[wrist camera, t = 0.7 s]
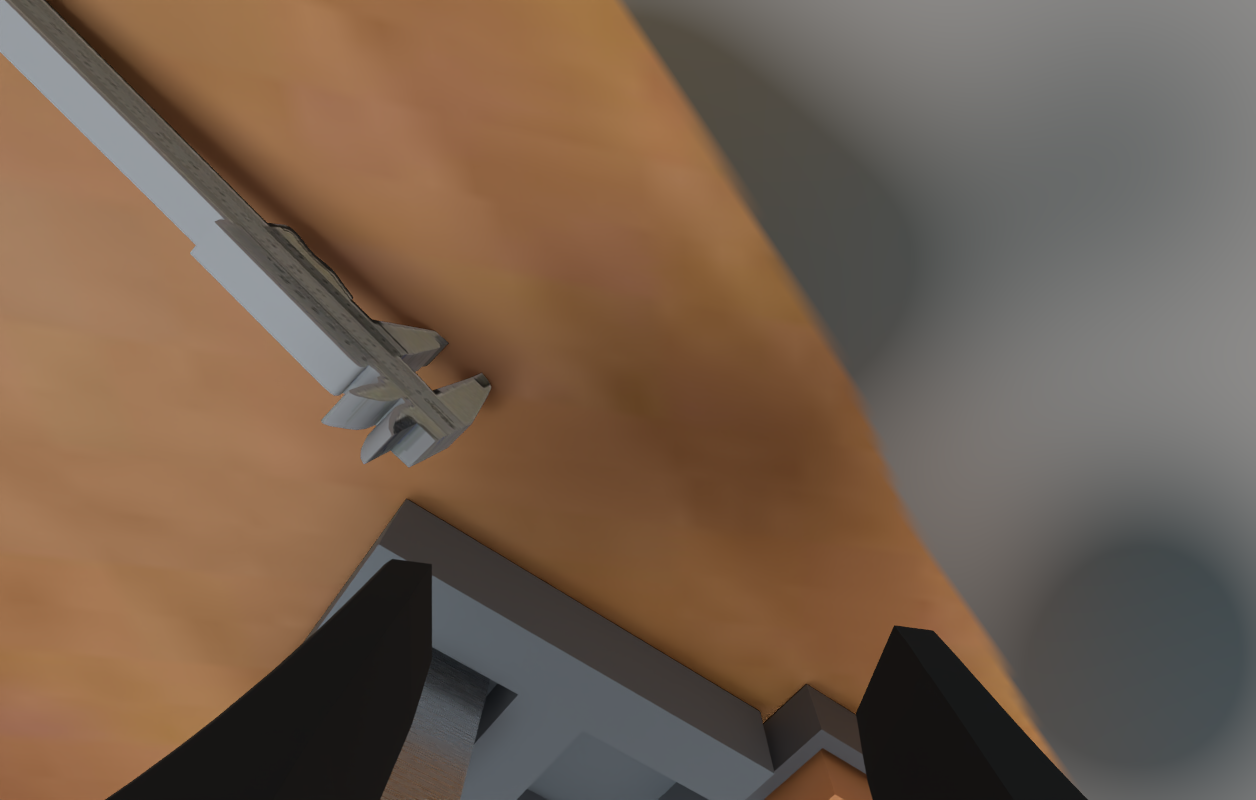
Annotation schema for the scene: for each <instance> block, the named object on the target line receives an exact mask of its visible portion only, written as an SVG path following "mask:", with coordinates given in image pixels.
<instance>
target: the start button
mask: <svg viewBox="0 0 1256 800" xmlns="http://www.w3.org/2000/svg"><path fill="white" fill-rule="evenodd" d="M764 800H873V799H872V796H871V792H870V789H869V785H868V781H867V775H866V774H865V773H863V772H862V771H860V770H858V769H857V768H855V767H853V766H852V765H850V764H848V763H847V762H845V761H843V760H842V759H840V758H838V757H837V756H835V755H833V754H832V753H830V752H828V751H827V750H825V749H823V748H822V749H821V750H820V751H819V752H817V753H816V754H815V755H814V756H813V757H812V758H811V759H809V760H808V761H807V762H806V763H805V764H804V765H803V766H801V767H800V768H799V769H798V770H797V771H796V772H795V773H794V774H792V775H791V776H790V777H789V778H788V779H787V780H786V781H784V782H783V783H782V784H781V785H780V786H779V787H778V788H776V789H775V790H774V791H773V792H772V793H771V794H770V795H768V796H767V797H766V798H765V799H764Z"/></svg>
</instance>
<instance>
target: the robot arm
mask: <svg viewBox="0 0 1256 800" xmlns="http://www.w3.org/2000/svg"><path fill="white" fill-rule="evenodd" d="M431 661H432V564H428V563H420V562H413V561H405V560H398V559H391V560H390V561H388V562H387V563H385V564H384V565H383V566H382V567H381V568H380V569H379V570H378V571H377V572H376V573H375V574H374V575H373V576H372V577H371V578H370V579H369V580H368V581H367V582H366V583H365V584H364V585H363V587H362V588H361V589H360V590H358V591H357V592H356V593H355V594H354V595H353V596H352V597H351V598H350V599H349V600H348V601H347V602H346V603H345V604H344V605H343V606H342V607H341V608H340V609H339V610H338V611H337V612H336V613H335V614H334V615H333V616H332V617H331V618H330V619H329V620H328V621H327V622H326V623H324V624H323V625H322V626H321V627H320V628H319V629H318V630H317V631H316V632H315V633H314V634H313V635H311V636H310V637H309V638H308V639H307V640H306V641H305V642H304V643H303V644H302V645H300V646H299V647H298V648H297V649H296V650H295V651H294V652H293V653H292V654H291V655H290V656H288V657H287V658H286V659H285V660H284V661H283V662H282V663H281V664H280V665H278V666H277V667H276V668H275V669H274V670H273V671H272V672H270V673H269V674H268V675H267V676H266V677H264V678H263V679H262V680H261V681H260V682H259V683H257V684H256V685H255V686H254V687H253V688H251V689H250V690H249V691H248V692H247V693H245V694H244V695H243V696H242V697H241V698H239V699H238V700H237V701H236V702H235V703H233V704H232V705H231V706H230V707H229V708H227V709H226V710H225V711H224V712H223V713H221V714H220V715H219V716H218V717H216V718H215V719H214V720H213V721H211V722H210V723H209V724H208V725H206V726H205V727H204V728H203V729H201V730H200V731H199V732H197V733H196V734H195V735H194V736H192V737H191V738H190V739H188V740H187V741H186V742H184V743H183V744H182V745H181V746H179V747H178V748H177V749H175V750H174V751H173V752H171V753H170V754H169V755H167V756H166V757H164V758H163V759H162V760H160V761H159V762H158V763H156V764H155V765H154V766H152V767H151V768H149V769H148V770H147V771H145V772H144V773H143V774H141V775H140V776H139V777H137V778H136V779H134V780H133V781H132V782H130V783H129V784H127V785H126V786H124V787H123V788H121V789H120V790H119V791H117V792H116V793H114V794H113V795H111V796H110V797H108V798H107V799H105V800H380V799H381V796H382V794H383V792H384V789H385V787H386V785H387V782H388V780H389V778H390V775H391V773H392V771H393V768H394V766H395V764H396V761H397V759H398V756H399V754H400V752H401V749H402V747H403V745H404V742H405V740H406V737H407V735H408V733H409V730H410V728H411V725H412V723H413V719H414V716H415V713H416V710H417V707H418V704H419V700H420V697H421V694H422V691H423V687H424V684H425V681H426V677H427V674H428V671H429V667H430V664H431ZM856 717H857V723H858V729H859V736H860V742H861V748H862V754H863V759H864V765H865V770H866V775H867V781H868V785H869V789H870V792H871V796H872V799H873V800H1088V799H1087V798H1086V797H1085V796H1084V795H1083V794H1082V793H1081V792H1080V791H1079V790H1078V789H1077V788H1076V787H1075V786H1074V785H1073V784H1072V783H1071V782H1070V781H1069V780H1068V779H1067V778H1066V777H1065V776H1064V774H1063V773H1062V772H1061V771H1060V770H1059V769H1058V768H1057V767H1056V766H1055V765H1054V764H1053V763H1052V762H1051V761H1050V760H1049V759H1048V757H1047V756H1046V755H1045V754H1044V753H1043V752H1042V751H1041V750H1040V749H1039V748H1038V747H1037V746H1036V744H1035V743H1034V742H1033V741H1032V740H1031V739H1030V738H1029V737H1028V736H1027V735H1026V734H1025V732H1024V731H1023V730H1022V729H1021V728H1020V727H1019V726H1018V725H1017V724H1016V722H1015V721H1014V720H1013V719H1012V718H1011V717H1010V716H1009V715H1008V714H1007V712H1006V711H1005V710H1004V709H1003V708H1002V707H1001V706H1000V705H999V703H998V702H997V701H996V700H995V699H994V698H993V697H992V696H991V694H990V693H989V692H988V691H987V690H986V689H985V688H984V687H983V685H982V684H981V683H980V682H979V681H978V680H977V679H976V678H975V676H974V675H973V674H972V673H971V672H970V671H969V670H968V668H967V667H966V666H965V665H964V664H963V663H962V662H961V661H960V659H959V658H958V657H957V656H956V655H955V654H954V653H953V652H952V651H951V649H950V648H949V647H948V646H947V645H946V644H945V643H944V642H943V641H942V640H941V639H940V638H939V637H938V635H937V634H936V633H935V632H934V631H932V630H924V629H917V628H909V627H902V626H894V627H893V630H892V632H891V634H890V636H889V639H888V641H887V643H886V646H885V648H884V650H883V653H882V655H881V657H880V659H879V662H878V664H877V666H876V669H875V671H874V673H873V676H872V678H871V680H870V683H869V685H868V687H867V689H866V692H865V694H864V696H863V699H862V701H861V703H860V706H859V708H858V710H857V712H856Z"/></svg>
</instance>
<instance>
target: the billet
mask: <svg viewBox="0 0 1256 800" xmlns="http://www.w3.org/2000/svg"><path fill="white" fill-rule="evenodd" d="M489 682H490V679H489V678H487V677H486V676H484V675H482V674H480V673H478V672H477V671H475V670H473V669H471V668H469V667H467V666H466V665H464V664H462V663H460V662H458V661H457V660H455V659H453V658H451V657H449V656H448V655H446V654H444V653H442V652H440V651H438V650H437V649H435V648H433V647H432V661H431V664H430V667H429V671H428V674H427V677H426V681H425V684H424V687H423V691H422V694H421V697H420V700H419V704H418V707H417V710H416V713H415V716H414V719H413V723H412V725H411V728H410V730H409V733H408V735H407V737H406V740H405V742H404V745H403V747H402V749H401V752H400V754H399V756H398V759H397V761H396V764H395V766H394V768H393V771H392V773H391V775H390V778H389V780H388V782H387V785H386V787H385V789H384V792H383V794H382V796H381V799H380V800H460V798H461V794H462V790H463V786H464V782H465V778H466V774H467V770H468V766H469V762H470V758H471V754H472V750H473V746H474V742H475V738H476V734H477V730H478V726H479V722H480V718H481V714H482V710H483V706H484V702H485V698H486V694H487V690H488V686H489Z"/></svg>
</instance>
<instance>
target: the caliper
mask: <svg viewBox="0 0 1256 800" xmlns="http://www.w3.org/2000/svg"><path fill="white" fill-rule="evenodd" d="M0 52H1V53H2V54H3V55H4V56H5V57H6V58H7V59H8V60H9V61H10V62H11V63H12V64H13V65H14V66H15V67H16V68H17V69H18V70H19V71H20V72H21V73H22V74H23V75H24V76H25V77H26V78H27V79H28V80H29V81H30V82H31V83H32V84H33V85H34V86H35V87H36V88H37V89H38V90H39V91H40V92H41V93H42V94H43V95H44V96H45V97H46V98H48V99H49V100H50V101H51V102H52V103H53V104H54V105H55V106H56V107H57V108H58V109H59V110H60V111H61V112H62V113H63V114H64V115H65V116H66V117H67V118H68V119H69V120H70V121H71V122H72V123H73V124H74V125H75V126H76V127H77V128H78V129H79V130H80V131H81V132H82V133H83V134H84V135H85V136H86V137H87V138H88V139H89V140H90V141H91V142H92V143H93V144H94V145H95V146H96V147H97V148H98V149H99V150H100V151H101V152H102V153H103V154H104V155H105V156H106V157H107V158H108V159H109V160H110V161H111V162H112V163H113V164H114V165H115V166H116V167H117V168H118V169H119V170H120V171H121V172H122V173H123V174H124V175H125V176H126V177H127V178H129V179H130V180H131V181H132V182H133V183H134V184H135V185H136V186H137V187H138V188H139V189H140V190H141V191H142V192H143V193H144V194H145V195H146V196H147V197H148V198H149V199H150V200H151V201H152V202H153V203H154V204H155V205H156V206H157V207H158V208H159V209H160V210H161V211H162V212H163V213H164V214H165V215H166V216H167V217H168V218H169V219H170V220H171V221H172V222H173V223H174V224H175V225H176V226H177V227H178V228H179V229H180V230H181V231H182V232H183V233H184V234H185V235H186V236H187V237H188V238H189V239H190V240H191V241H192V242H193V243H194V244H195V245H196V246H195V247H194V249H193V250H192V251H191V253H190V254H191V255H192V256H193V257H194V258H195V259H196V260H197V261H198V262H199V263H200V264H201V265H202V266H203V267H204V268H205V269H206V270H207V271H208V272H209V273H210V274H211V275H212V276H213V277H214V278H215V279H216V280H217V281H218V282H219V283H220V284H221V285H222V286H223V287H224V288H225V289H226V290H227V291H228V292H229V293H230V294H231V295H232V296H233V297H234V298H235V299H236V300H237V301H238V302H239V303H240V304H241V305H242V306H243V307H244V308H245V309H246V310H247V311H248V312H249V313H250V314H251V315H252V316H253V317H254V318H255V319H256V320H257V321H258V322H259V323H260V324H261V325H262V326H263V327H264V328H265V329H266V330H267V331H268V332H269V333H270V334H271V335H272V336H273V337H274V338H275V339H276V340H277V341H278V342H279V343H280V344H281V345H282V346H283V347H284V348H285V349H286V350H287V351H288V352H289V353H290V354H291V355H292V356H293V357H294V358H295V359H296V360H297V361H298V362H299V363H300V364H301V365H302V366H303V367H304V368H305V369H306V370H307V371H308V372H309V373H310V374H311V375H312V376H313V377H314V378H315V379H316V380H317V381H318V382H319V383H320V384H321V385H322V386H323V387H324V388H325V389H326V390H327V391H329V392H330V393H331V394H333V395H334V396H335V395H340V394H342V393H344V394H345V395H344V396H343V397H342V398H341V399H340V400H339V401H338V403H337V404H336V405H335V406H334V407H333V408H332V409H331V410H330V411H329V412H328V413H327V415H326V416H325V417H324V418H323V419H322V420H321V421H322V423H323V424H326V425H328V426H333V427H339V428H345V429H354V430H359V429H366V428H369V427H371V426H374V425H376V427H375V428H374V429H373V430H372V432H371V433H370V434H369V435H368V436H367V438H366V440H365V442H364V444H363V446H362V449H361V460H362V462H363V464H366V463H368V462H370V461H371V460H373V459H375V458H377V457H379V456H381V455H383V454H385V453H387V452H388V451H390V450H391V451H392V452H393V453H394V454H395V455H396V456H397V457H398V458H399V459H400V460H401V461H402V462H403V463H405V464H406V465H407V466H408V467H411V466H413V465H415V464H417V463H419V462H421V461H423V460H425V459H427V458H429V457H431V456H433V455H435V454H436V453H438V452H440V451H442V450H444V449H446V448H448V447H449V446H450V445H451V444H452V443H453V442H454V441H455V440H456V439H457V438H458V437H459V436H460V435H461V434H462V433H463V432H464V431H465V430H466V429H467V428H468V427H469V426H470V425H471V424H472V423H473V421H474V419H475V417H476V416H477V414H478V412H479V410H480V409H481V407H482V405H483V403H484V402H485V400H486V398H487V396H488V394H489V392H490V390H491V385H490V383H489V381H488V380H487V378H486V377H485V376H484V375H483V374H482V373H480V374H478V375H476V376H474V377H471V378H468V379H465V380H463V381H460V382H457V383H454V384H451V385H448V386H445V387H442V388H439V389H436V390H433V391H432V390H431V389H430V388H429V387H428V386H427V384H426V383H425V382H424V381H423V380H422V379H421V378H420V377H419V376H418V375H417V374H416V373H415V372H416V371H418V370H419V369H420V368H421V367H423V366H427V365H428V364H429V363H430V362H431V361H432V360H433V359H434V358H435V357H436V356H437V355H438V354H439V353H440V352H441V351H442V349H443V348H444V347H445V346H446V345H447V344H448V342H447V341H446V340H445V339H444V338H442V337H441V336H440V335H439V334H438V333H437V332H435V331H433V330H427V329H422V328H416V327H411V326H405V325H399V324H394V323H388V322H383V321H377V320H372V319H371V318H370V317H369V316H368V315H367V314H366V313H365V312H364V311H363V310H362V309H361V308H360V307H359V306H358V305H357V304H356V303H355V302H354V301H353V300H352V299H353V297H352V295H351V294H350V292H349V291H348V290H347V288H346V287H345V286H344V284H343V283H342V282H341V280H340V279H339V277H338V276H337V275H336V273H335V272H334V271H333V270H332V269H331V268H330V267H329V266H328V265H327V264H326V263H324V262H323V261H322V260H320V259H319V258H318V257H317V256H316V255H315V254H314V253H313V252H312V251H311V250H310V249H309V248H308V247H307V245H306V244H305V242H304V241H303V240H302V239H301V237H300V236H299V235H298V234H297V233H296V232H295V231H294V230H293V229H292V228H290V227H289V226H287V225H281V224H273V223H267V222H266V221H265V220H264V219H263V218H262V217H261V216H260V215H259V214H258V213H257V212H256V211H255V210H254V209H253V208H252V207H251V206H250V205H249V204H248V203H247V202H246V201H245V200H244V199H243V198H242V197H241V196H240V195H239V194H238V193H237V192H236V191H235V190H234V189H233V188H232V187H231V186H230V185H229V184H228V183H227V182H226V181H225V180H224V179H223V178H222V177H221V176H220V175H219V174H218V173H217V172H216V171H215V170H214V169H213V168H212V167H211V166H210V165H209V164H208V163H207V162H206V161H205V160H204V159H203V158H202V157H201V156H200V155H199V154H198V153H197V152H196V151H195V150H194V149H193V148H192V147H191V146H190V145H189V144H188V143H187V142H186V141H185V140H184V139H183V138H182V137H181V136H180V135H179V134H178V133H177V132H176V131H175V130H174V129H173V128H172V127H171V126H170V125H169V124H168V123H167V122H166V121H165V120H164V119H163V118H162V117H161V116H160V115H159V114H158V113H157V112H156V111H155V110H154V109H153V108H152V107H151V106H150V105H149V104H148V103H147V102H146V101H145V100H144V99H143V98H142V97H141V96H140V95H139V94H138V93H137V92H136V91H135V90H134V89H133V88H132V87H131V86H130V85H129V84H128V83H127V82H126V81H125V80H124V79H123V78H122V77H121V76H120V75H119V74H118V73H117V72H116V71H115V70H114V69H113V68H112V67H111V66H110V65H109V64H108V63H107V62H106V61H105V60H104V59H103V58H102V57H101V56H100V55H99V54H98V53H97V52H96V51H95V50H94V49H93V48H92V47H91V46H90V45H89V44H88V43H87V42H86V41H85V40H84V39H83V38H82V37H81V36H80V35H79V34H78V33H77V32H76V31H75V30H74V29H73V28H72V27H71V26H70V25H69V24H68V23H67V22H66V21H65V20H64V19H63V17H62V16H61V15H60V14H59V13H58V12H57V11H56V10H55V9H54V8H53V7H52V6H51V5H50V4H49V3H48V2H47V1H46V0H0Z"/></svg>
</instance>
